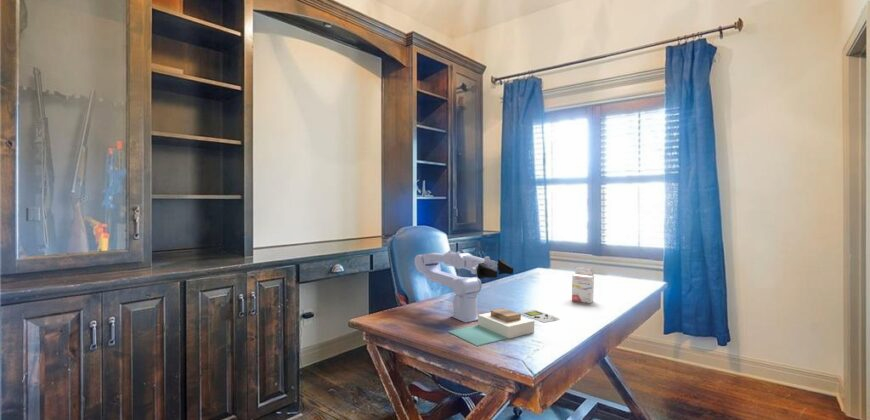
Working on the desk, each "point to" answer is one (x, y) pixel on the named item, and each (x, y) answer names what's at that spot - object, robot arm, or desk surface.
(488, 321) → the cream white board
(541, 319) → the handheld gaming device
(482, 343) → the mat
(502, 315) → the block
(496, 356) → the desk surface
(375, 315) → the desk surface
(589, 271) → the ink cartridge box
